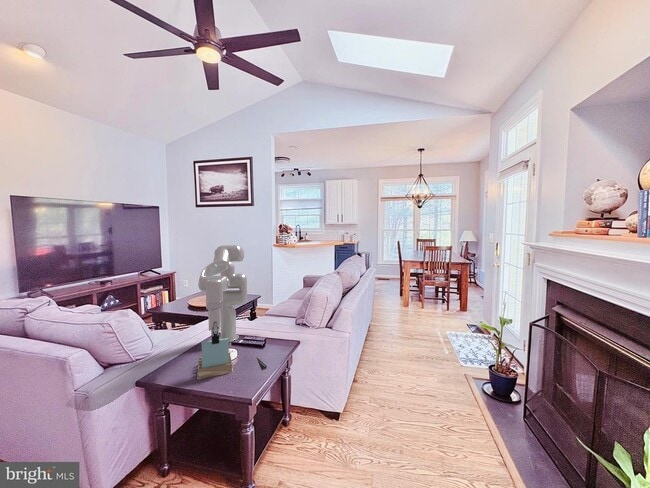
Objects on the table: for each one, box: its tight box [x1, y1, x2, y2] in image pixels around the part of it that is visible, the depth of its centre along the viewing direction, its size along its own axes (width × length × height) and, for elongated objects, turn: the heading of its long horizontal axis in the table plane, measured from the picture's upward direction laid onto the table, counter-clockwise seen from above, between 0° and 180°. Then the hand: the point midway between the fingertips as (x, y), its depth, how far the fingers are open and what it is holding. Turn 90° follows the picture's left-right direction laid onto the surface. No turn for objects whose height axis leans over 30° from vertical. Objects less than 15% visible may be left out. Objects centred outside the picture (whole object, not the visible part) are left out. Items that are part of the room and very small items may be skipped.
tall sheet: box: [201, 338, 230, 368], centre depth 134 cm, size 2×12×16 cm, turn 114°
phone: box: [256, 356, 268, 371], centre depth 145 cm, size 8×1×15 cm
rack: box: [196, 352, 234, 380], centre depth 138 cm, size 15×16×5 cm
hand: (215, 339), depth 134 cm, fingers open, 9 cm apart
